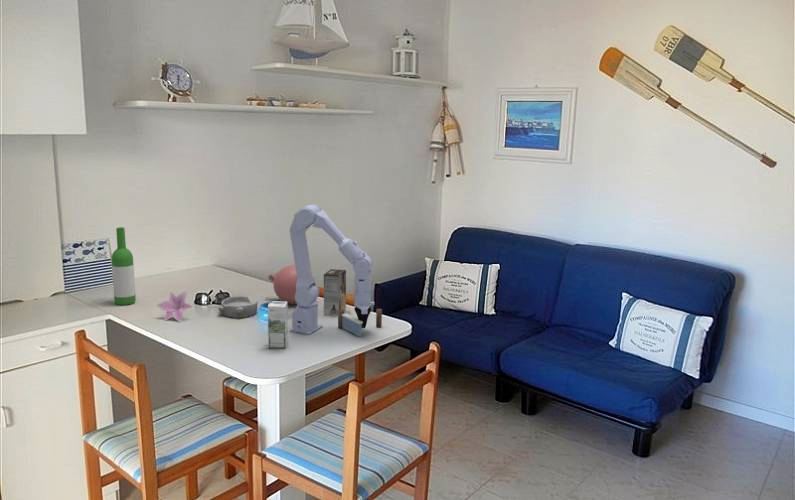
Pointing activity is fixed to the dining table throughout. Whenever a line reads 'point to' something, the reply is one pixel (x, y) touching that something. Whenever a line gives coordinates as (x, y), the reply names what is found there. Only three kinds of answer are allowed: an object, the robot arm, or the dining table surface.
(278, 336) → the syrup box
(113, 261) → the wine bottle
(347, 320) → the block
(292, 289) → the pink balloon
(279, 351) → the dining table surface
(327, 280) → the coffee box
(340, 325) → the gate posts
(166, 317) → the lily
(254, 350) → the dining table surface
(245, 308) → the dish
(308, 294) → the robot arm
